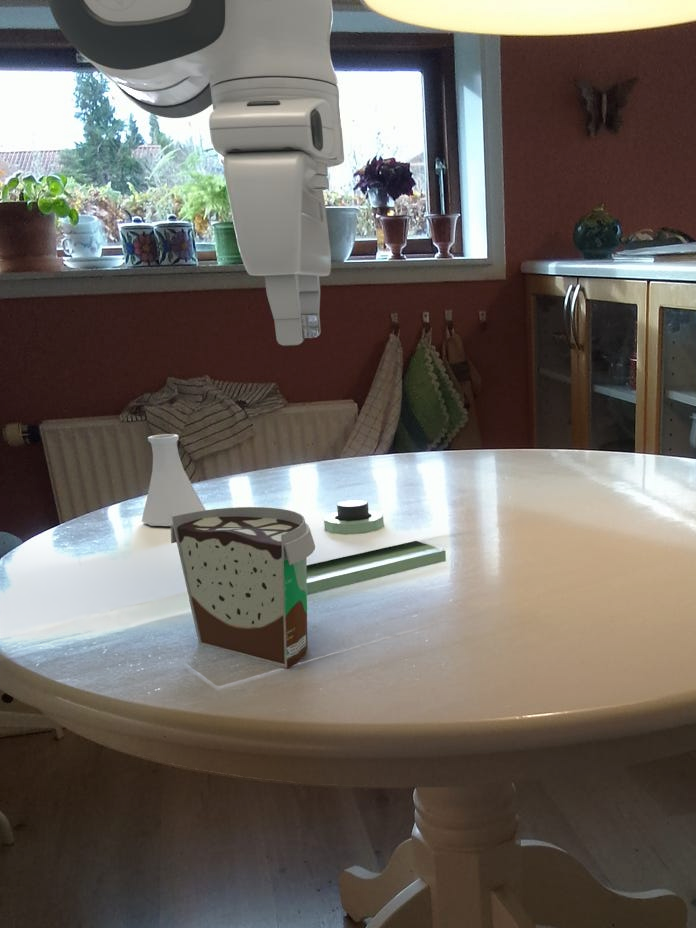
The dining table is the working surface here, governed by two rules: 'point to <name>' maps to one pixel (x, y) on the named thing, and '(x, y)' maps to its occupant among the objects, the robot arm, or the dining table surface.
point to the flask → (168, 484)
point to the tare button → (352, 510)
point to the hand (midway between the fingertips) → (300, 341)
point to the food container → (247, 580)
